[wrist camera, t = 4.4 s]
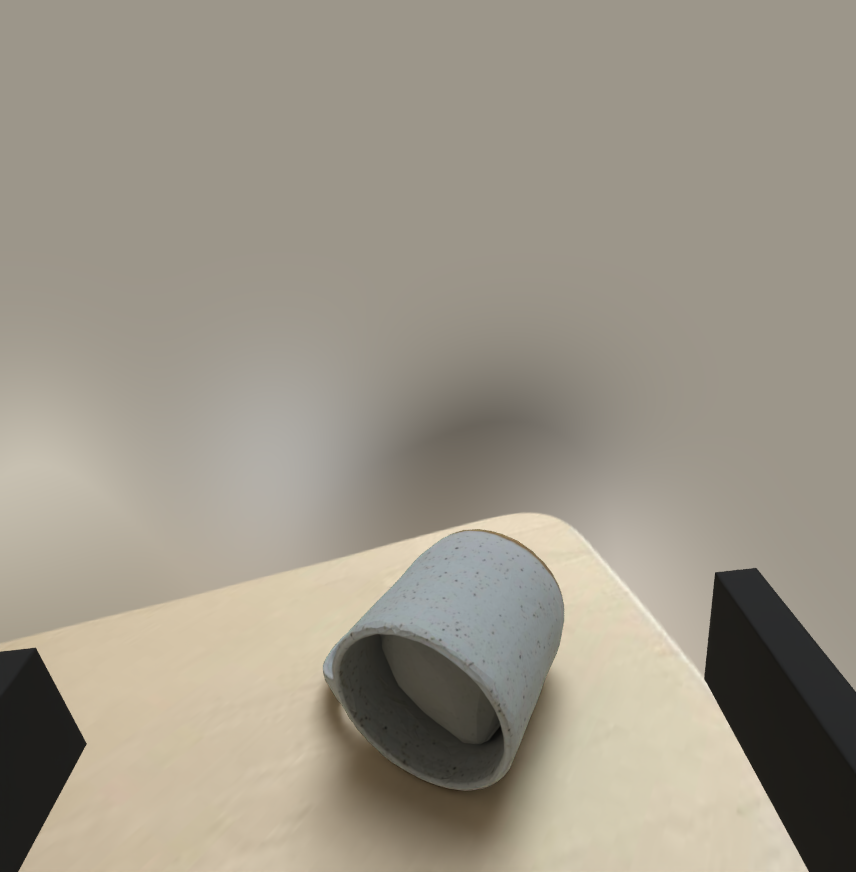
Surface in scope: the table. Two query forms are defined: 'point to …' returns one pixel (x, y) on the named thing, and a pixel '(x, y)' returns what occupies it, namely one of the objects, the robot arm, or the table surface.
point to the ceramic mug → (452, 659)
